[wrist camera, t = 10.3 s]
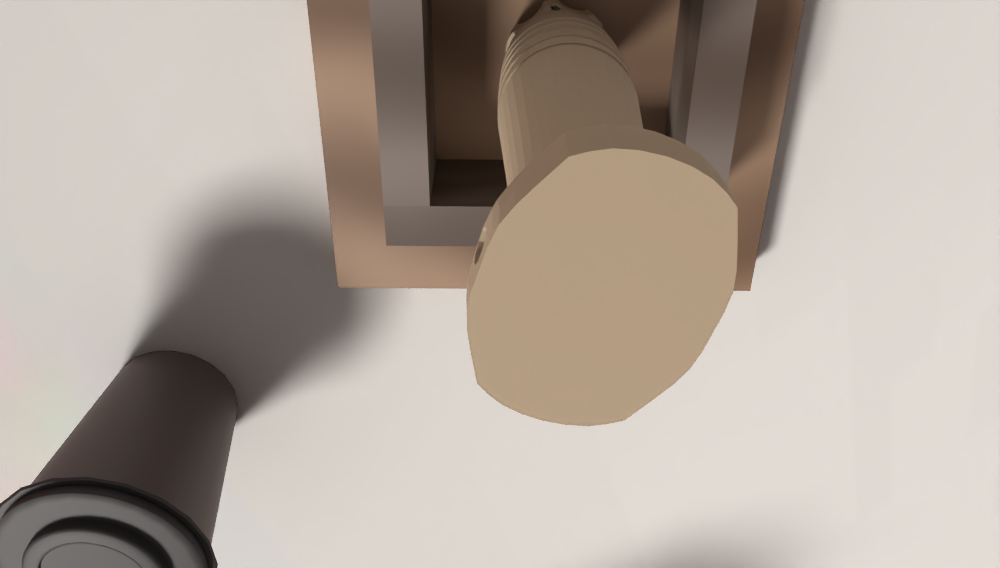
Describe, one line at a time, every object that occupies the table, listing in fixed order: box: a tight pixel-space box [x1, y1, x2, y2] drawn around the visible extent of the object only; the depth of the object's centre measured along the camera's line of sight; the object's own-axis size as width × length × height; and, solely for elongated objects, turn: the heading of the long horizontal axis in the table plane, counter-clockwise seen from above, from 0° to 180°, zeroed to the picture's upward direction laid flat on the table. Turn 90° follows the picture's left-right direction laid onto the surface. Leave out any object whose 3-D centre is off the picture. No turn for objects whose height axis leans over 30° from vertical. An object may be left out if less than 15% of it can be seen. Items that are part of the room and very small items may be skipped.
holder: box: [307, 0, 805, 291], centre depth 29 cm, size 20×16×5 cm
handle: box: [467, 0, 738, 426], centre depth 24 cm, size 5×6×15 cm
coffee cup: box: [0, 351, 238, 568], centre depth 36 cm, size 8×8×10 cm
